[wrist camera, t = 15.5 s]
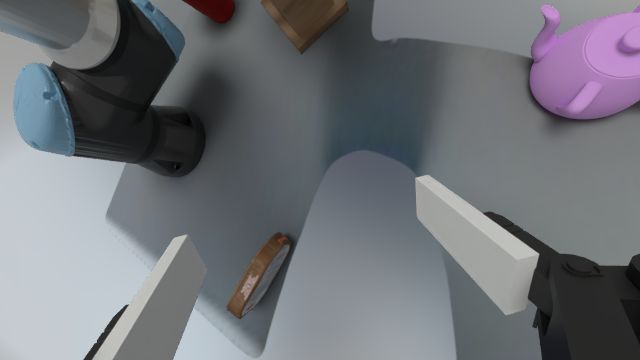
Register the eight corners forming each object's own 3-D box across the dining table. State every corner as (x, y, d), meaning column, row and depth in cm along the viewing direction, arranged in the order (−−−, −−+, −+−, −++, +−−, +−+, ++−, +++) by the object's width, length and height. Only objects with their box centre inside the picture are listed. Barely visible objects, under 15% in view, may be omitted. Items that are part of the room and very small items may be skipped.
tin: (287, 228, 43) (261, 235, 35) (301, 238, 42) (277, 248, 34) (248, 296, 45) (215, 317, 37) (260, 307, 44) (229, 331, 36)
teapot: (508, 52, 34) (542, 4, 26) (643, 18, 29) (738, -54, 21) (524, 133, 32) (566, 111, 24) (668, 111, 28) (780, 74, 20)
